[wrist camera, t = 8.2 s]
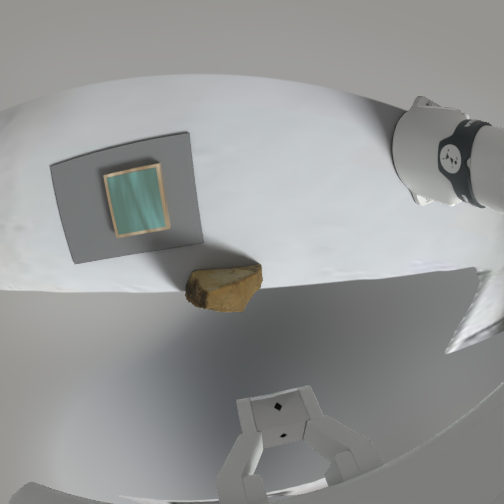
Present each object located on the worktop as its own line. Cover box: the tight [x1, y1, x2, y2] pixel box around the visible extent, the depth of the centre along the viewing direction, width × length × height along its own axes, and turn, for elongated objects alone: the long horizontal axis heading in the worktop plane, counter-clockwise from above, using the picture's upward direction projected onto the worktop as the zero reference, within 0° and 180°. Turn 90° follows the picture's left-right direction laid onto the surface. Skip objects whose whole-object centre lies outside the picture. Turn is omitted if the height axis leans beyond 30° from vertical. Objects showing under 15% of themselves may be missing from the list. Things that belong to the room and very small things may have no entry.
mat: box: [51, 133, 204, 264], centre depth 31 cm, size 19×14×1 cm
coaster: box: [103, 163, 171, 238], centre depth 30 cm, size 2×8×7 cm
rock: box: [185, 264, 263, 312], centre depth 35 cm, size 11×9×10 cm
